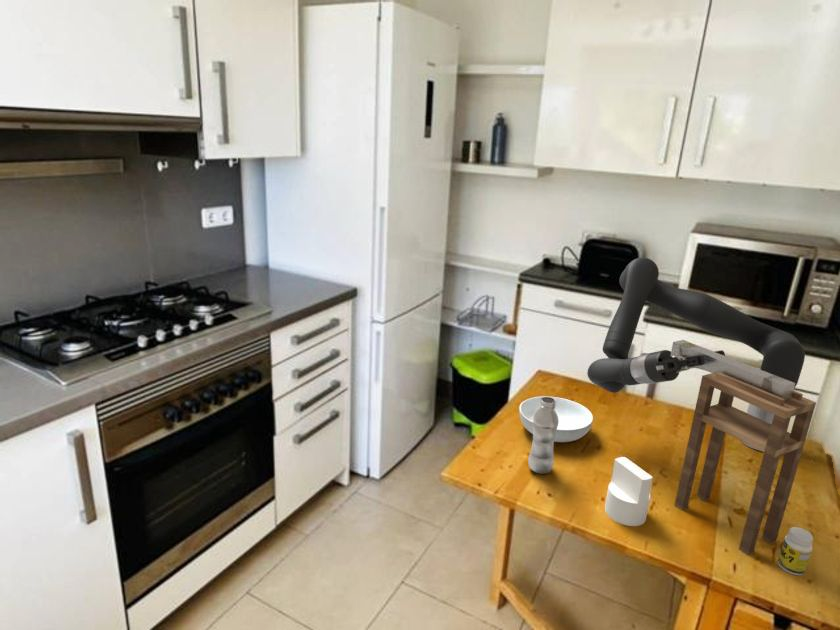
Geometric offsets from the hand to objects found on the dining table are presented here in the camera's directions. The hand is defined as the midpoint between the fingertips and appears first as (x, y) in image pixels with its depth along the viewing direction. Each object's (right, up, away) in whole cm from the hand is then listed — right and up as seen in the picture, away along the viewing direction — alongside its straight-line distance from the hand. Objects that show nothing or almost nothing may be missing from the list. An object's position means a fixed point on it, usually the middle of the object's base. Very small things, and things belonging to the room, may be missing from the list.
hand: (713, 357), depth 122 cm
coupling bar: (+2, -4, -2) cm, 5 cm away
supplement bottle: (+10, -42, -10) cm, 45 cm away
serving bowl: (-26, -25, +38) cm, 53 cm away
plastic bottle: (-34, -31, +20) cm, 50 cm away
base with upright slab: (-18, -36, +5) cm, 41 cm away
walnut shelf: (+3, -38, +2) cm, 38 cm away
